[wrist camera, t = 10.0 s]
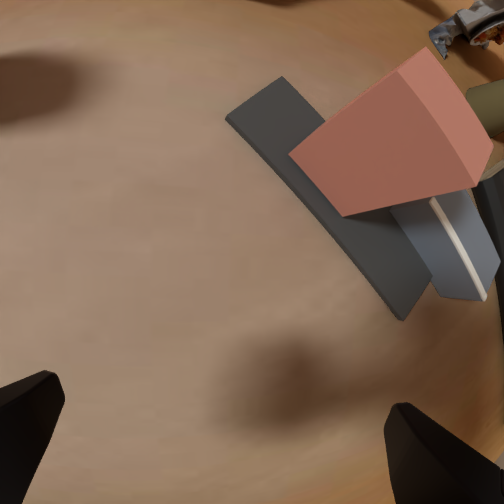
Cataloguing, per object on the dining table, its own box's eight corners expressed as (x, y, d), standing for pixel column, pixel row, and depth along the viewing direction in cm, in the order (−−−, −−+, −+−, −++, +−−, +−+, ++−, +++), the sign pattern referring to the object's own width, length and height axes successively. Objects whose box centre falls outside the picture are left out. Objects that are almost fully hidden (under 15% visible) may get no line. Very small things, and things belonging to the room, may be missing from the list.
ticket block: (412, 339, 21) (457, 352, 17) (225, 119, 18) (243, 80, 13) (460, 261, 23) (502, 261, 19) (309, 60, 20) (339, 24, 15)
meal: (446, 64, 24) (532, 17, 12) (425, 32, 24) (504, -22, 11) (488, 58, 28) (551, 27, 16) (472, 33, 28) (532, -2, 15)
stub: (342, 216, 19) (476, 186, 9) (287, 154, 18) (396, 71, 8) (368, 186, 19) (493, 145, 10) (318, 127, 19) (426, 46, 9)
